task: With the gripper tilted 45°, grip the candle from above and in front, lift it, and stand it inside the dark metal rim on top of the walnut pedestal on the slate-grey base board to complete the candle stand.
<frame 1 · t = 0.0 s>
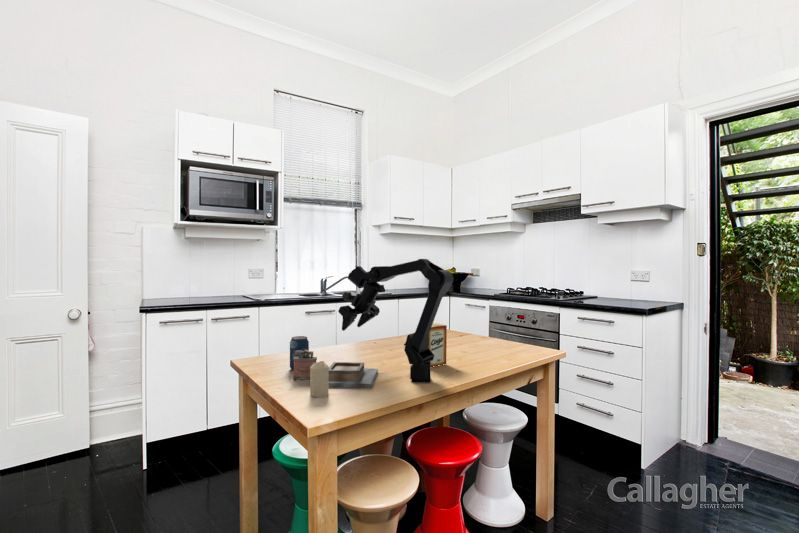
hand: (350, 328, 153), 15 cm above the table, tool tilted 35°, fingers open, 9 cm apart
candle stand: (345, 379, 137), on the table
lighter: (305, 379, 137), on the table
soda can: (299, 369, 149), on the table
candle: (319, 395, 121), on the table
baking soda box: (431, 365, 157), on the table
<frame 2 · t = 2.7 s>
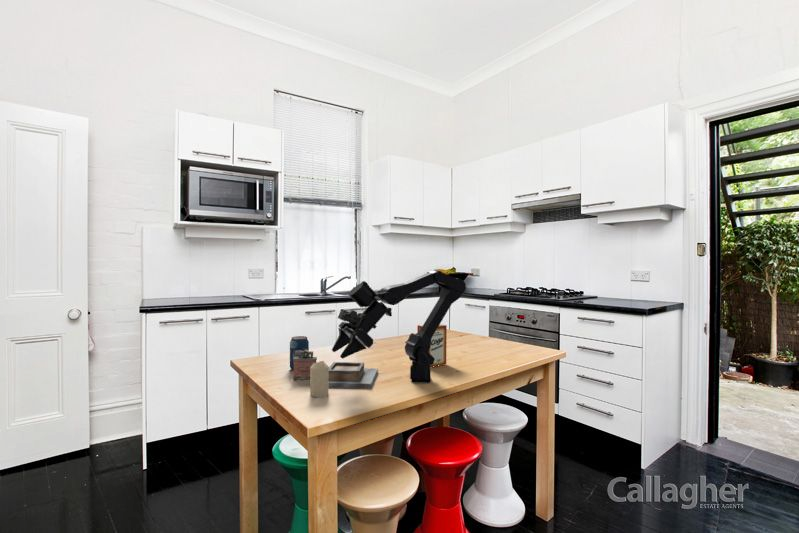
hand: (336, 354, 123), 12 cm above the table, tool tilted 45°, fingers open, 9 cm apart
nothing on the table moved.
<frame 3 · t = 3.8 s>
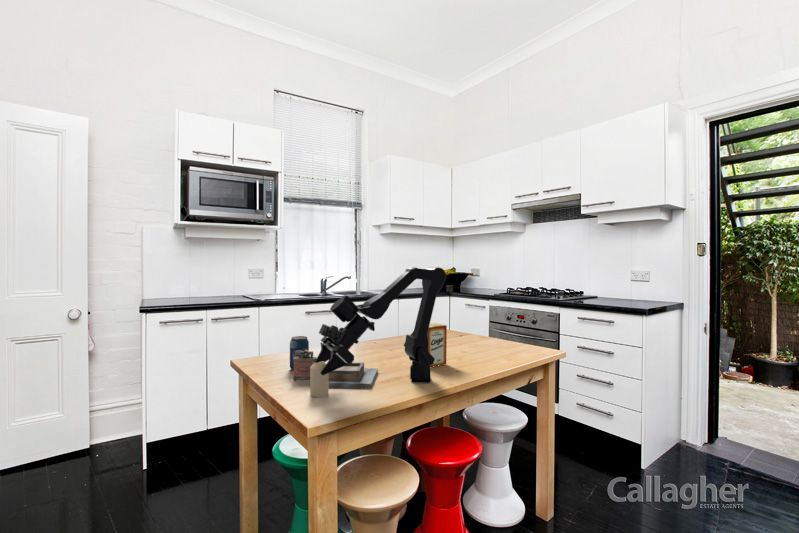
hand: (317, 370, 121), 7 cm above the table, tool tilted 45°, fingers open, 9 cm apart
nothing on the table moved.
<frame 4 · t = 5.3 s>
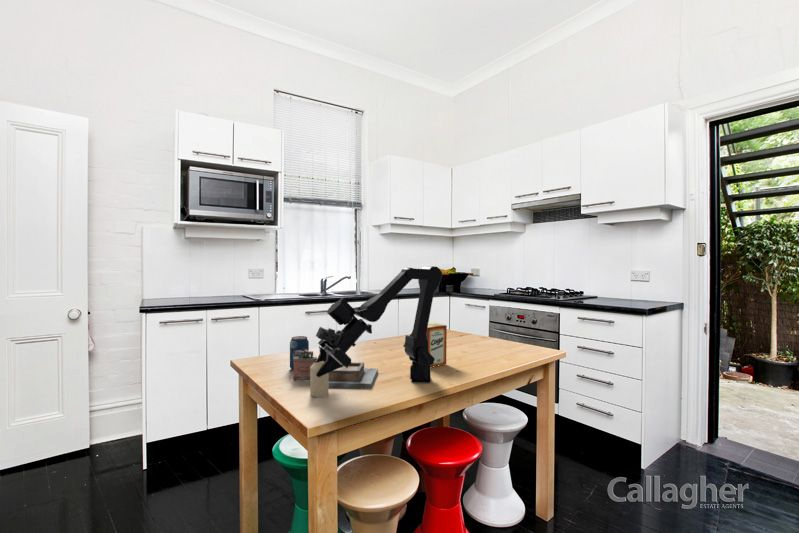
hand: (314, 373, 121), 7 cm above the table, tool tilted 45°, fingers closed on candle, 5 cm apart
candle: (319, 395, 121), on the table, touching gripper
everything else where it was.
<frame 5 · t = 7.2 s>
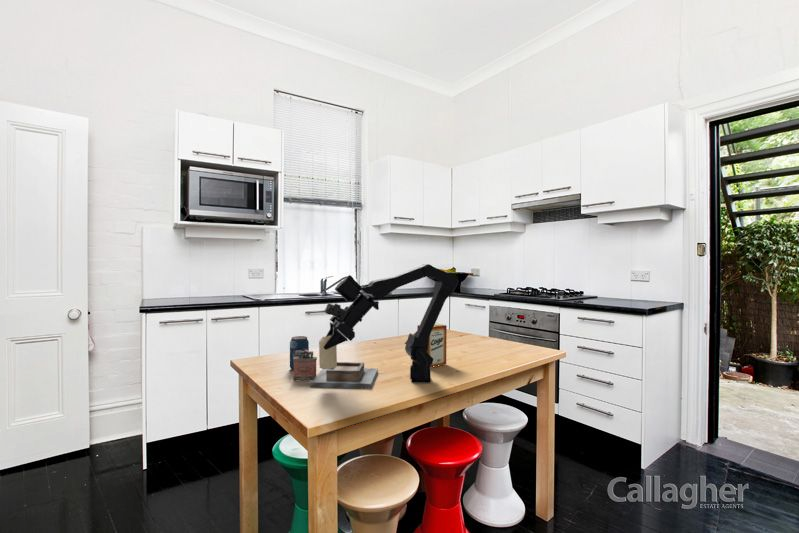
hand: (323, 346, 127), 13 cm above the table, tool tilted 45°, fingers closed on candle, 5 cm apart
candle: (328, 367, 127), point 7 cm above the table, touching gripper
everything else where it was.
when the fingers open (12 cm above the table, at t = 9.3 s): candle drops 2 cm, resting on candle stand.
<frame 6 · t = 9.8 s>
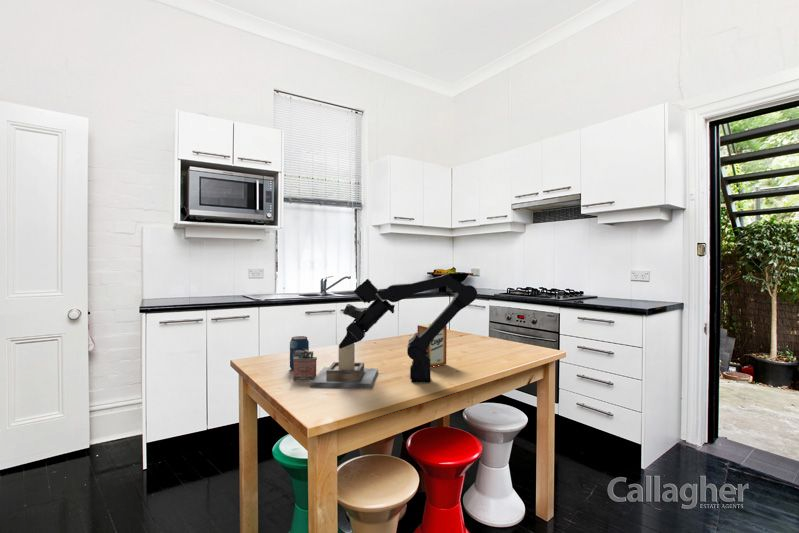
hand: (342, 344, 137), 12 cm above the table, tool tilted 45°, fingers open, 9 cm apart
candle: (346, 369, 137), point 3 cm above the table, touching candle stand
everything else where it was.
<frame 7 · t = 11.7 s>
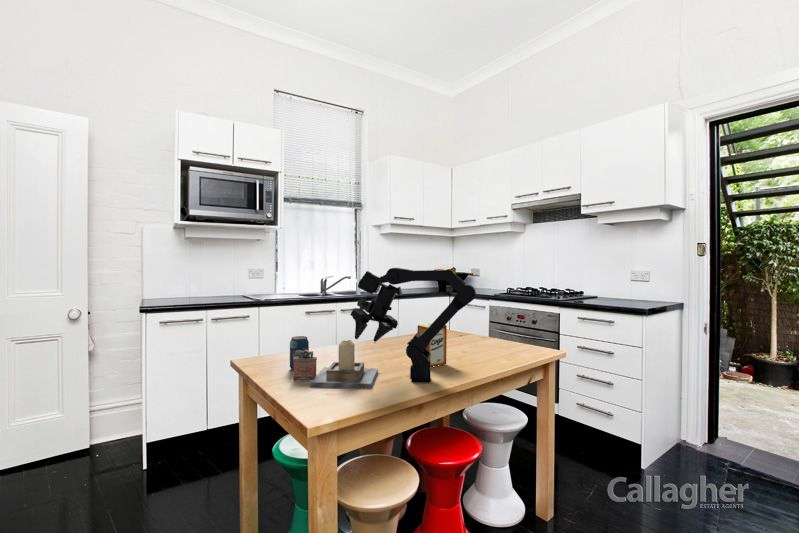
hand: (365, 340, 140), 13 cm above the table, tool tilted 25°, fingers open, 9 cm apart
nothing on the table moved.
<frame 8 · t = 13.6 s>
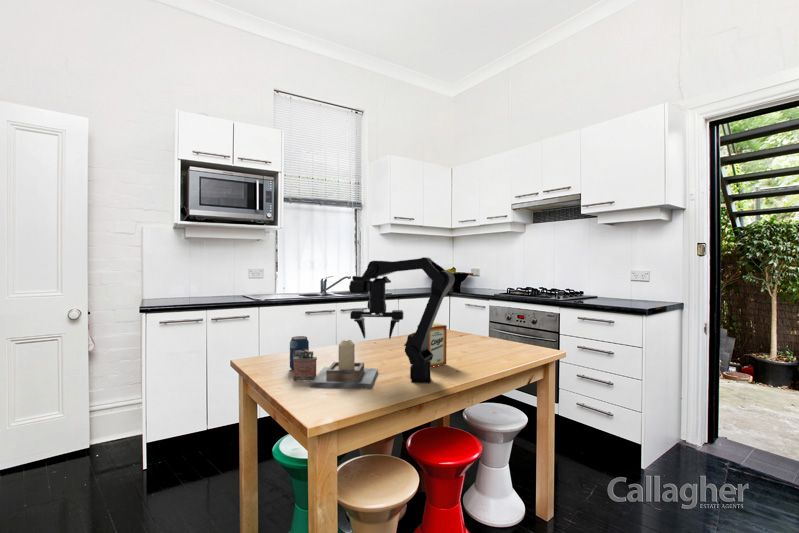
hand: (377, 338, 143), 13 cm above the table, tool pointing down, fingers open, 9 cm apart
nothing on the table moved.
at the end: candle 0.3 cm off-centre on the candle stand, point 3.3 cm above the candle stand's base; candle tilted 0°; the gripper is holding nothing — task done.
